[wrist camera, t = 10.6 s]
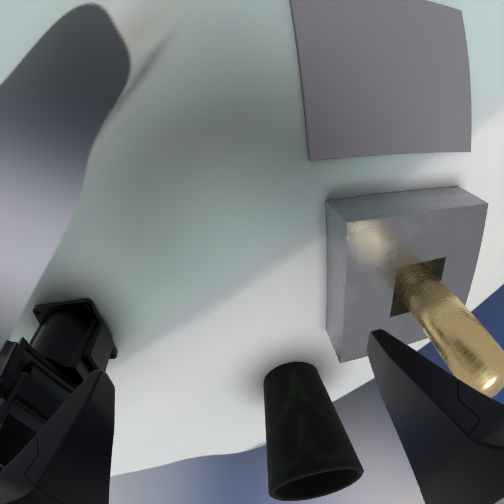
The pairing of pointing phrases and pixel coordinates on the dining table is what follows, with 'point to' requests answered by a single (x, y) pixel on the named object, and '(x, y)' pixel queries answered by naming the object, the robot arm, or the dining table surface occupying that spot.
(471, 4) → the dining table surface
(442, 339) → the pin
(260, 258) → the dining table surface
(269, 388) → the cup
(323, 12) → the mat
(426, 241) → the grey square hole block
